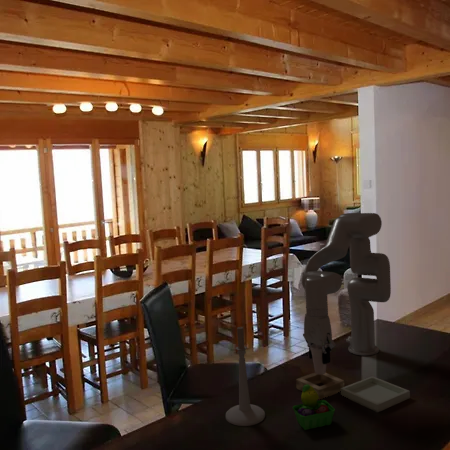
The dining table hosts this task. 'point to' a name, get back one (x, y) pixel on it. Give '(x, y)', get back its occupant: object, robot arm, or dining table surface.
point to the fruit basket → (313, 410)
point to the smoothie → (318, 359)
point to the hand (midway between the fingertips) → (319, 359)
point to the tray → (375, 393)
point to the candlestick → (244, 393)
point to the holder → (330, 382)
